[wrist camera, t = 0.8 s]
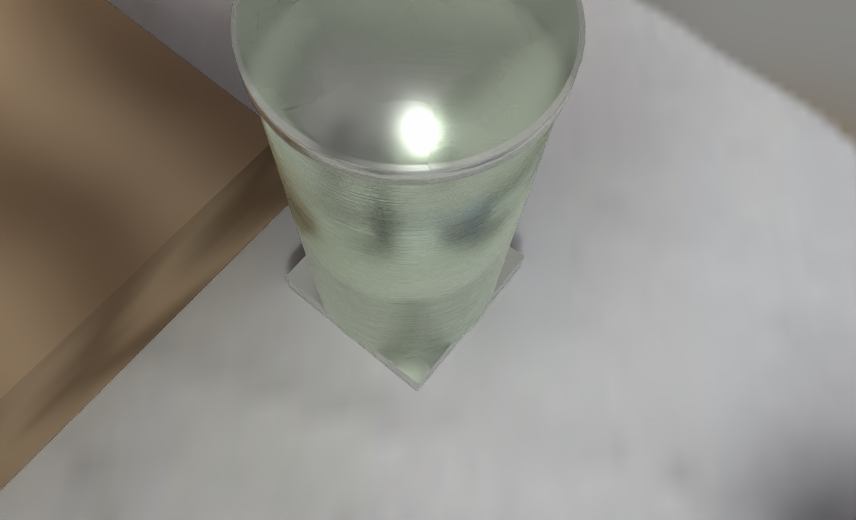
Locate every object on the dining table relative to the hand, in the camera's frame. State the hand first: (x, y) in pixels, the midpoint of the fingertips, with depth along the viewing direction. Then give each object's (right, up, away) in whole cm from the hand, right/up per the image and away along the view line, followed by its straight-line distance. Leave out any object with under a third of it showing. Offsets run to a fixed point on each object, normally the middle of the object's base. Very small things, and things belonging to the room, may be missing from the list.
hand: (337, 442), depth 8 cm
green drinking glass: (0, +2, +16) cm, 16 cm away
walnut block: (-13, +4, +17) cm, 22 cm away
